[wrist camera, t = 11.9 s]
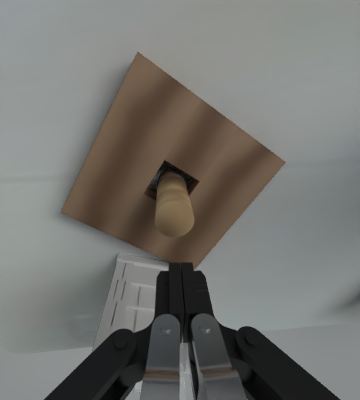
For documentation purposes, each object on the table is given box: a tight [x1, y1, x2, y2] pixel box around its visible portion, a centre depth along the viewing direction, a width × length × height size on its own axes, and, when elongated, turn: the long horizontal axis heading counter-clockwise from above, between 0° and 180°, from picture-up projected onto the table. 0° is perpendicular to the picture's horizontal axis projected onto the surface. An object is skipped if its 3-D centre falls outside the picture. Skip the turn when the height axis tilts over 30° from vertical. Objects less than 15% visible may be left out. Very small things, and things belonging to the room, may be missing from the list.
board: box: [61, 52, 286, 270], centre depth 27 cm, size 20×20×3 cm
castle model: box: [92, 254, 197, 400], centre depth 31 cm, size 13×15×14 cm
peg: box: [155, 168, 194, 237], centre depth 24 cm, size 4×4×11 cm
